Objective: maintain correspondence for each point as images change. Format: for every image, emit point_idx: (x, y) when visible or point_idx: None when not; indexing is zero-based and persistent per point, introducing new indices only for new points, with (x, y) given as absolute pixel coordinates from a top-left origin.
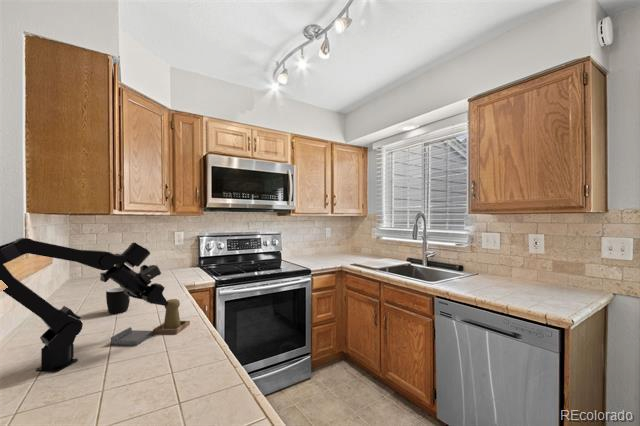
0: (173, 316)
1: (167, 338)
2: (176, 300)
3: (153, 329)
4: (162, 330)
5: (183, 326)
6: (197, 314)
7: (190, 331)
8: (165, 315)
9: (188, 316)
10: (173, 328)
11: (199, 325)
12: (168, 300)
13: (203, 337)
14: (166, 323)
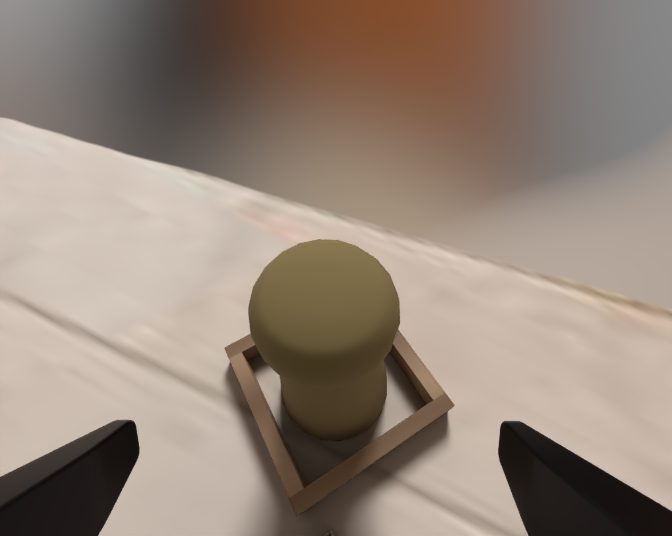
0: (380, 365)
1: (479, 496)
2: (369, 267)
3: (300, 513)
4: (364, 468)
5: (402, 338)
6: (248, 196)
7: (466, 339)
8: (317, 402)
9: (230, 231)
10: (384, 395)
11: (412, 266)
12: (301, 320)
13: (619, 346)
14: (346, 420)
